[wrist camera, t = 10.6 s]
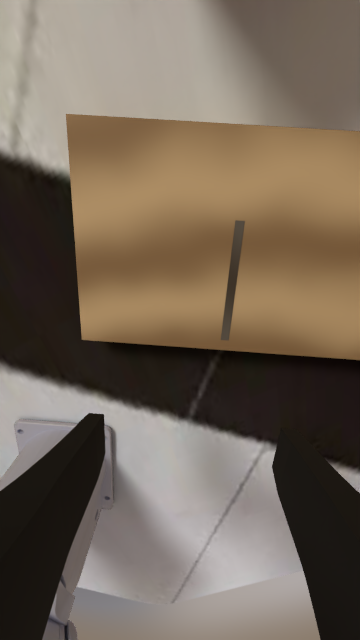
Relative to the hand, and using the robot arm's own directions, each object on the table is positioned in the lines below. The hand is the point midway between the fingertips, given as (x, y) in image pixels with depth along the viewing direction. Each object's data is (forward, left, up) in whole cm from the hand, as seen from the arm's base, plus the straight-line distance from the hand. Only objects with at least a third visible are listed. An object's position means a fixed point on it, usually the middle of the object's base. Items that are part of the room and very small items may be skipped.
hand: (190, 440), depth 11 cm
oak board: (+7, -8, -9) cm, 14 cm away
